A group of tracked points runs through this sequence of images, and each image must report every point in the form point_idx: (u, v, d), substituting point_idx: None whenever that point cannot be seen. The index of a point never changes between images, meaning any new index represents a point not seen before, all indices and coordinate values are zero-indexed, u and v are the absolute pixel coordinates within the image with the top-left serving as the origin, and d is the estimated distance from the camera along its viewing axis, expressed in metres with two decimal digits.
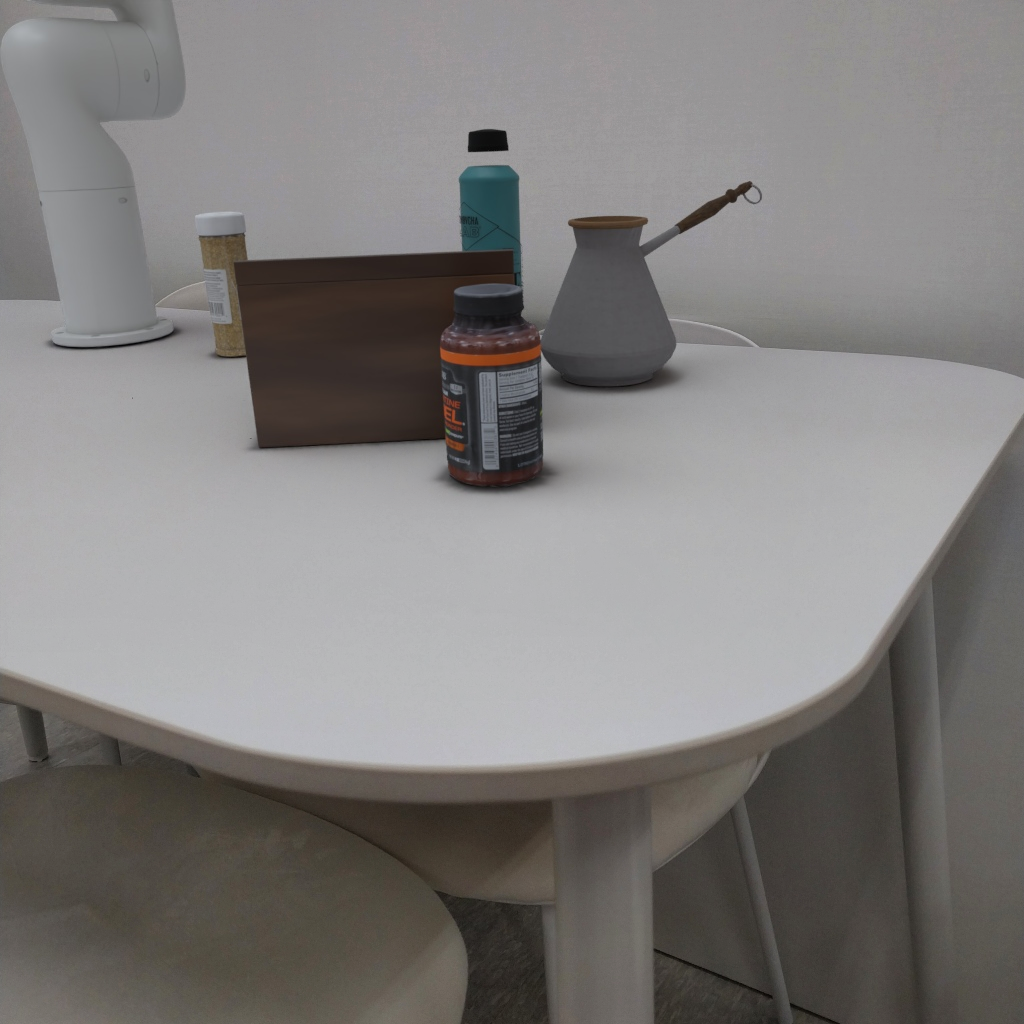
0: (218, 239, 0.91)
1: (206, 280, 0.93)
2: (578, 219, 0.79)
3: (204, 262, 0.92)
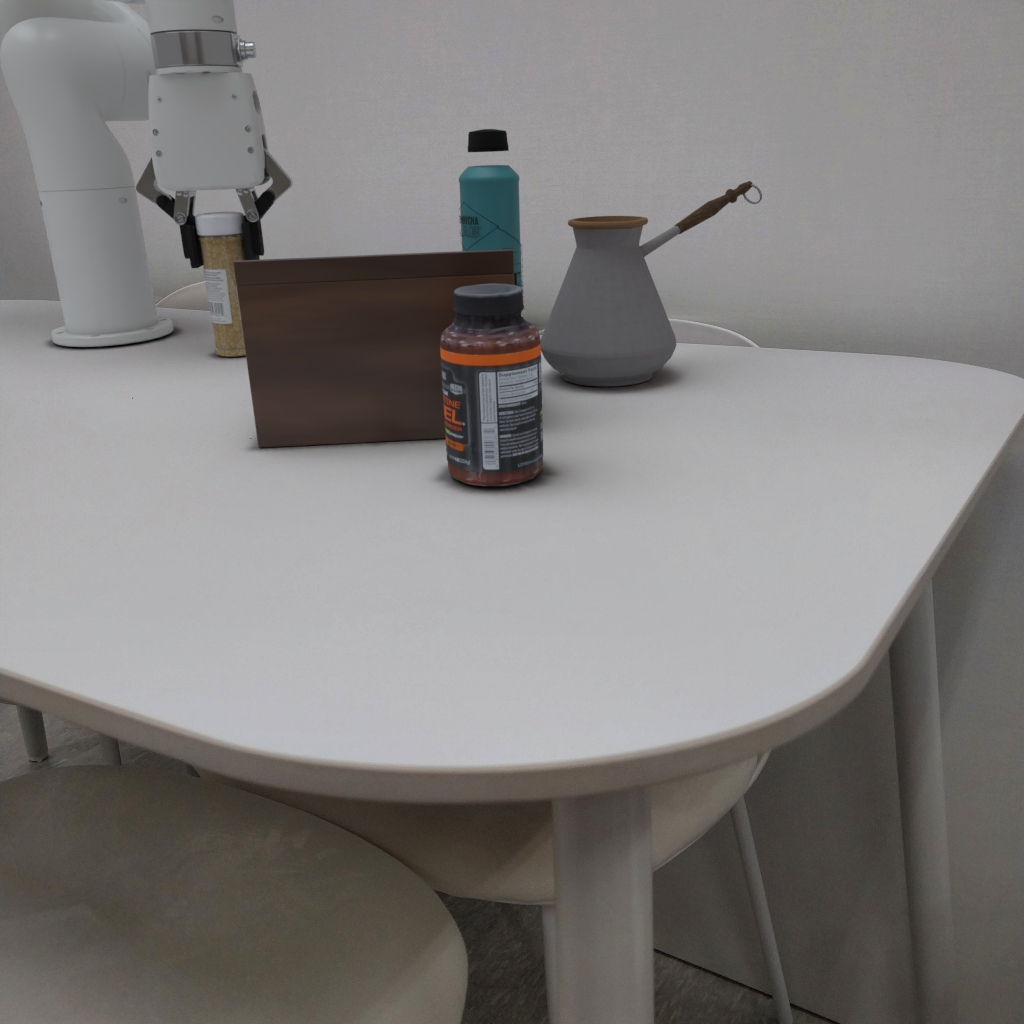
0: (218, 239, 0.91)
1: (206, 280, 0.93)
2: (578, 219, 0.79)
3: (204, 262, 0.92)
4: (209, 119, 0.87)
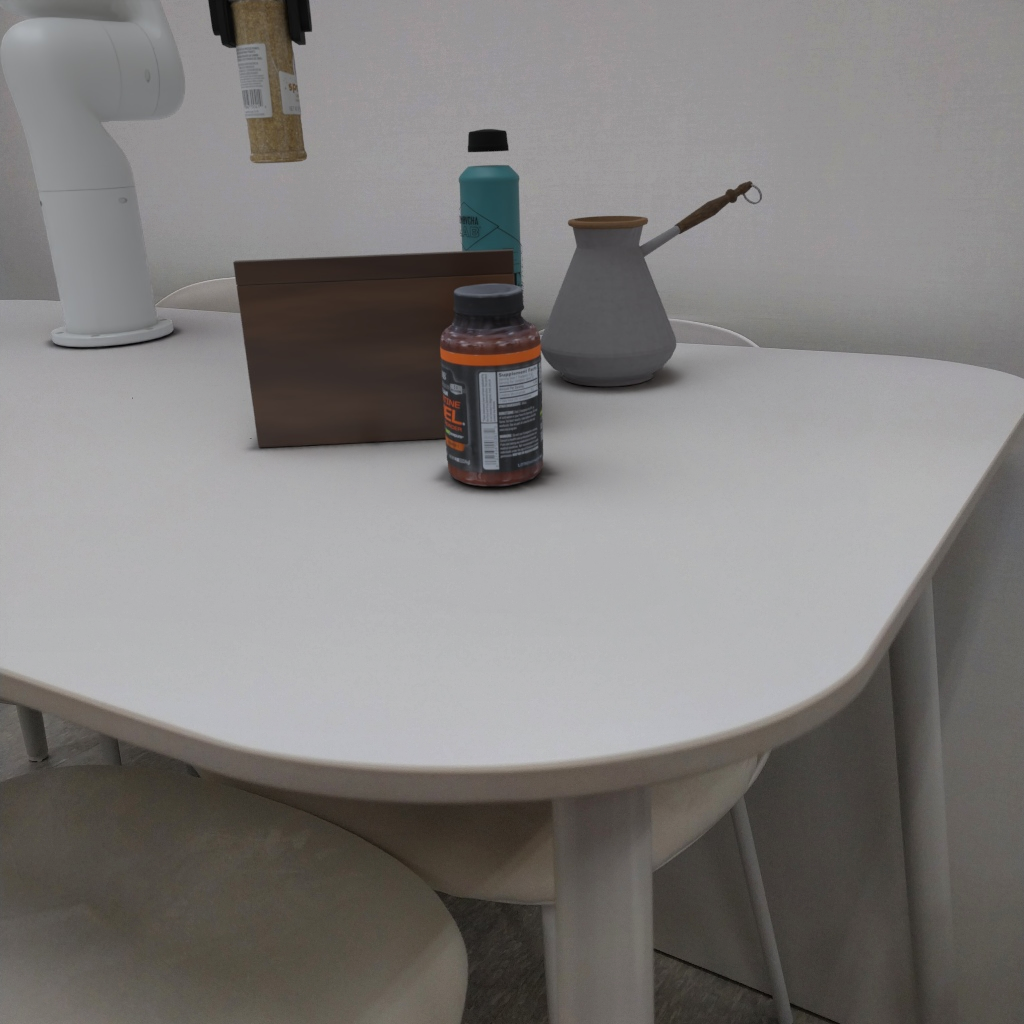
0: (256, 2, 0.72)
1: (240, 61, 0.74)
2: (578, 219, 0.79)
3: (237, 37, 0.73)
4: None
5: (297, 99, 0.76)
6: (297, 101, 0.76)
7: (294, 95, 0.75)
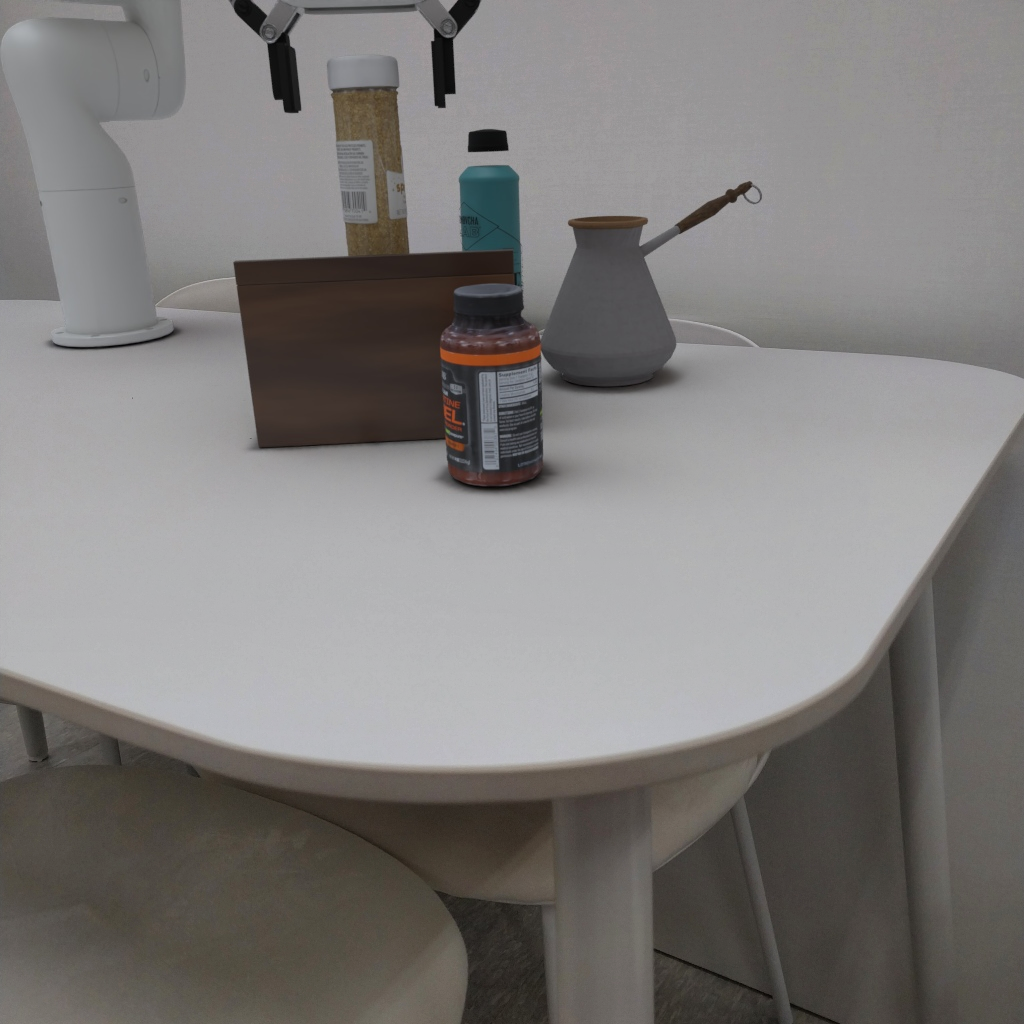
0: (364, 93, 0.61)
1: (341, 158, 0.63)
2: (578, 219, 0.79)
3: (339, 131, 0.63)
4: None
5: (404, 200, 0.65)
6: (404, 203, 0.65)
7: (402, 196, 0.65)
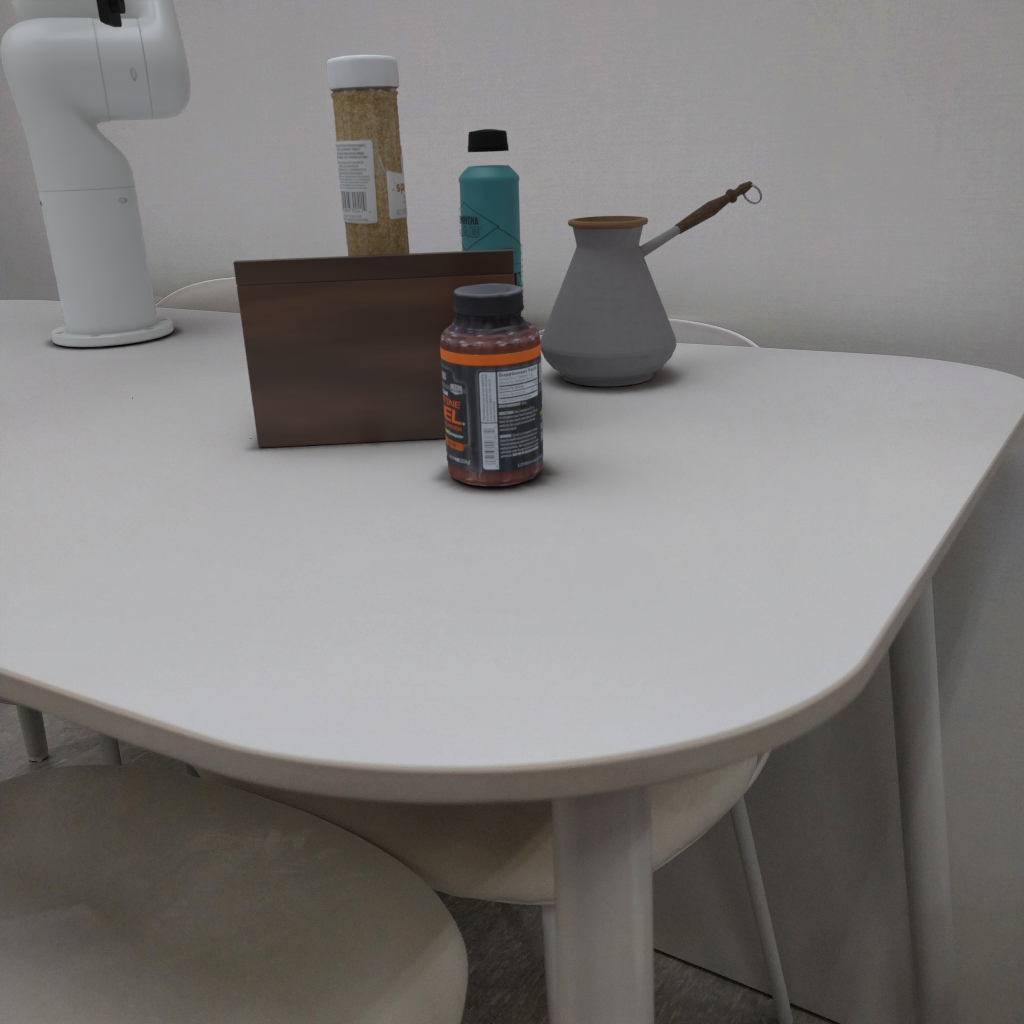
0: (363, 93, 0.61)
1: (341, 158, 0.63)
2: (578, 219, 0.79)
3: (339, 131, 0.63)
4: None
5: (404, 200, 0.65)
6: (404, 202, 0.65)
7: (402, 196, 0.65)
